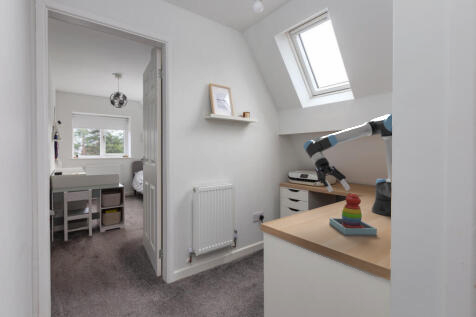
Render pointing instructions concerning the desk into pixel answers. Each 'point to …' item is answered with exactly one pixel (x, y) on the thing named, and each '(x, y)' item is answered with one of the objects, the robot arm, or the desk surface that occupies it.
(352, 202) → the stacking bear
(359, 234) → the blue-grey square tray
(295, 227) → the desk surface
